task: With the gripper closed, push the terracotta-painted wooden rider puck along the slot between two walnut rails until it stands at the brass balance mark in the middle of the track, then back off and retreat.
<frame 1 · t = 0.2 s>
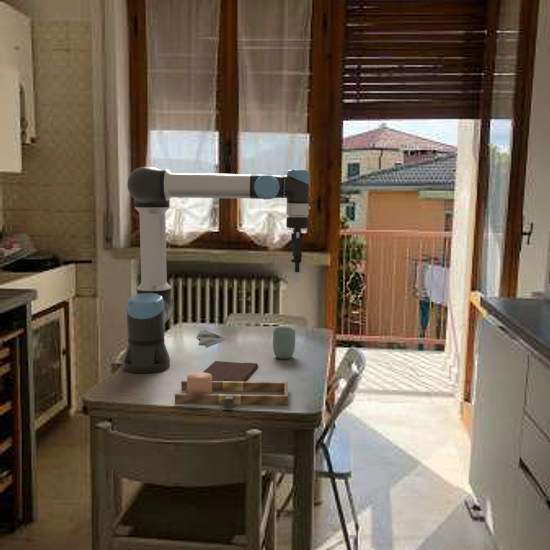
hand: (296, 278, 207), 28 cm above the table, fingers open, 13 cm apart
cup: (283, 358, 211), on the table
notebook: (227, 376, 191), on the table
track: (231, 396, 171), on the table
rider: (199, 396, 171), on the table
cloth: (208, 341, 235), on the table
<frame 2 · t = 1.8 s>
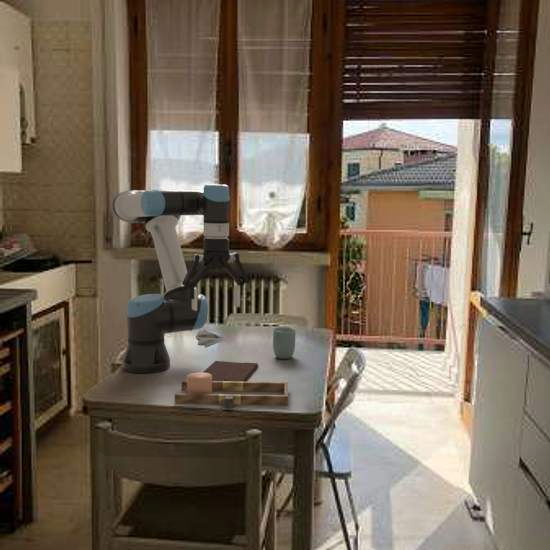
hand: (216, 308, 181), 23 cm above the table, fingers open, 13 cm apart
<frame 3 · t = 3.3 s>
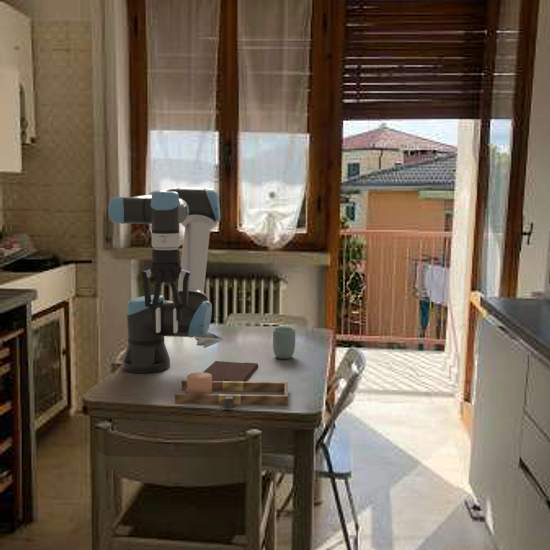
hand: (167, 331, 169), 19 cm above the table, fingers open, 4 cm apart
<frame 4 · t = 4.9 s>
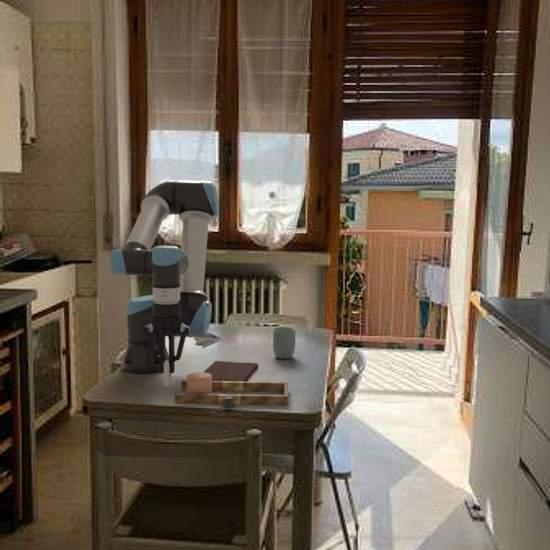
hand: (167, 384, 171), 4 cm above the table, fingers closed
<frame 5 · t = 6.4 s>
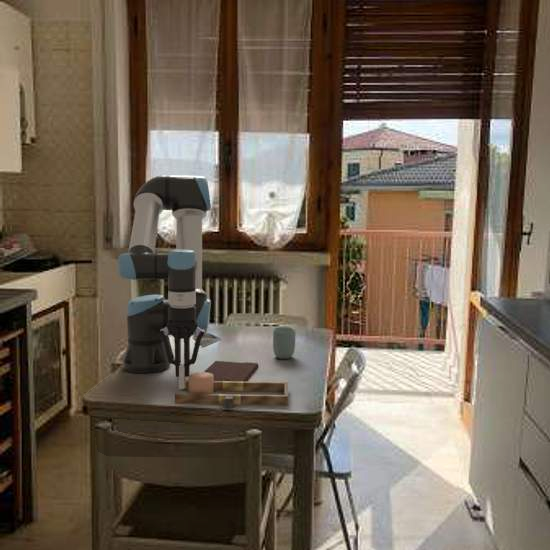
hand: (182, 387, 171), 3 cm above the table, fingers closed
rider: (201, 396, 171), on the table, touching gripper
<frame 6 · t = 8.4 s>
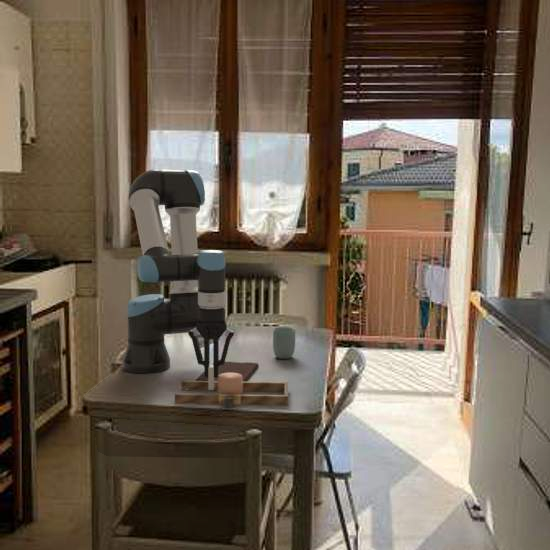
hand: (211, 388, 171), 2 cm above the table, fingers closed
rider: (230, 396, 171), on the table, touching gripper
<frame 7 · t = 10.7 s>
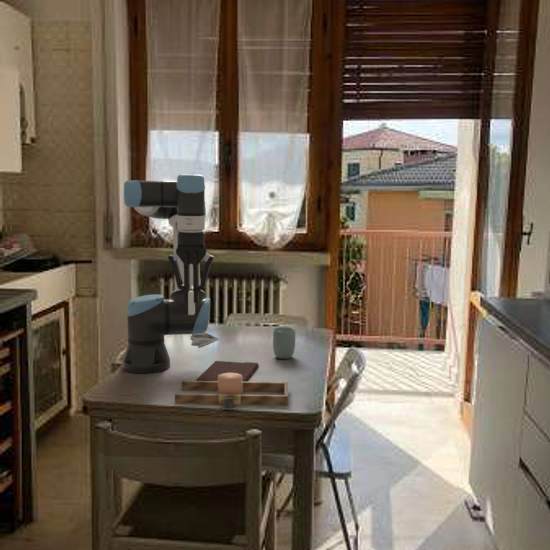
hand: (191, 313, 172), 23 cm above the table, fingers closed
rider: (230, 396, 171), on the table
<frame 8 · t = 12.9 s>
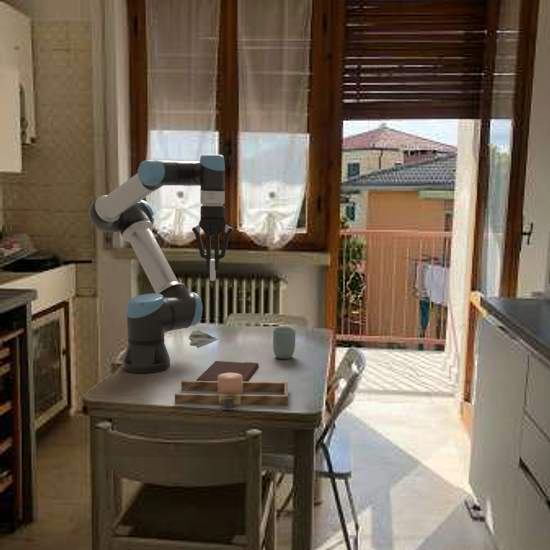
hand: (212, 279, 192), 29 cm above the table, fingers closed
at the end: rider inside the target area on the track (0.4 cm from its centre), point 0.0 cm above the track's base; rider tilted 0°; rider moved 8.6 cm from its start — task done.
